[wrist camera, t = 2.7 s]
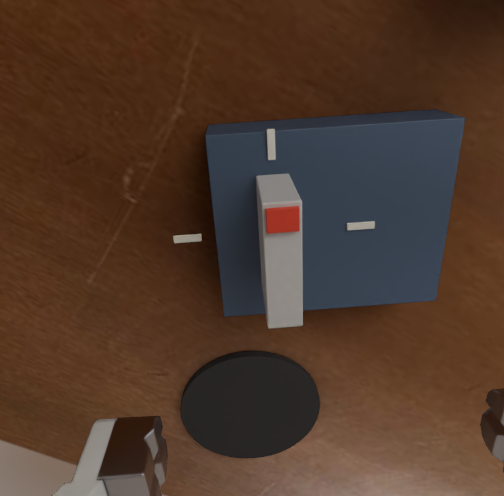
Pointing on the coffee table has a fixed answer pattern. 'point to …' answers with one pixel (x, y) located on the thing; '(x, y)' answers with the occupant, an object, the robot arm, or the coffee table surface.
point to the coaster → (250, 404)
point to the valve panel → (338, 204)
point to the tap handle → (280, 249)
